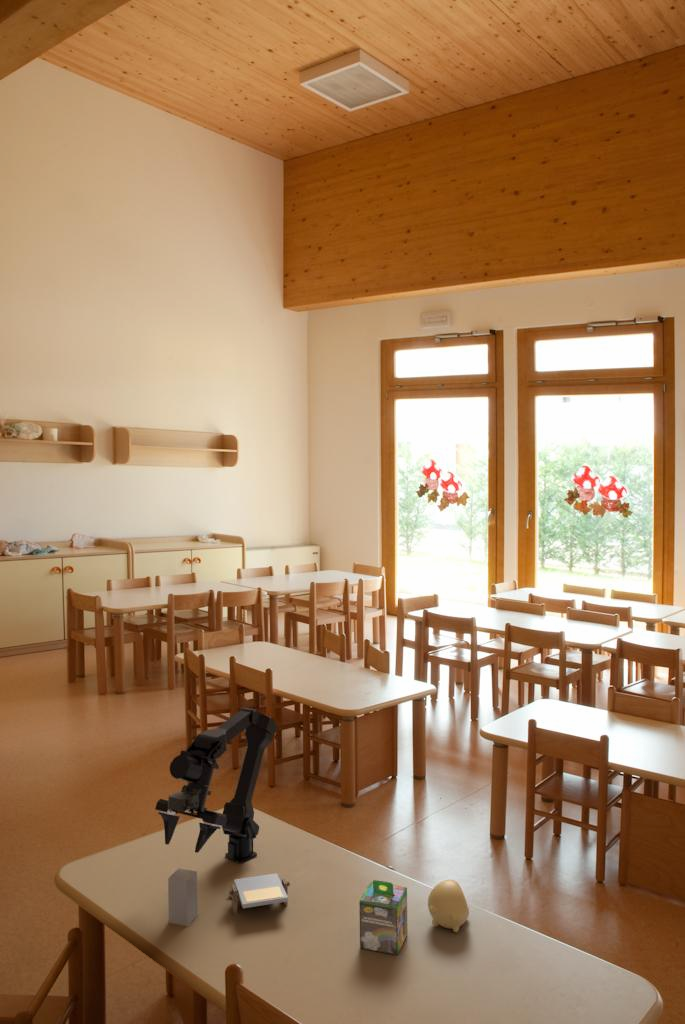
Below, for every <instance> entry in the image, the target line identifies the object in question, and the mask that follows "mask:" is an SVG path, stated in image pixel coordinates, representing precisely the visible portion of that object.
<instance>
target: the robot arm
mask: <svg viewBox="0 0 685 1024" xmlns="http://www.w3.org/2000/svg"><path fill="white" fill-rule="evenodd" d="M277 730H278V724H277V722H276V719H275V718H274V717H272V716H271V717H270V716H267V715H265V714H264V713H261V712H260V711H258V710H257V709H256V708H250V707H240V708H238V711H237V713H234V715H232V716H231V717H230V718H228V719H227V720H226V721H224V722H223V723H222V724H220V725H219V726H217V727H216V728H214V729H213V728H212V729H208V730H204V731H202V732H200V733H198V734H197V735H196V736H195V738H194V740H192V741H191V743H190V745H188V747H187V748H186V749H185V750H181V751H180V753H179V755H176V756H175V757H174V758H173V759H172V760H171V762H170V764H169V773H170V774H171V777H172V778H174V779H177V780H181V781H185V782H187V783H186V784H184V785H183V786H182V788H181V791H178V792H174V793H172V794H169V795H168V798H167V799H163V798H160V799H158V801H156V803H155V807H154V810H156V811H158V812H157V814H158V815H160V816H161V818H162V820H163V825H164V826H163V827H164V843H165V845H169V844H171V841H172V838H173V836H174V833H175V830H176V828H177V825H178V821H179V819H180V817H181V816H179V815H177V814H182V815H185V816H189V817H193V818H197V819H201V820H202V822H199V823H198V824H199V832H198V837H197V839H196V840H197V841H196V843H195V848H194V852H195V853H196V854H198V853H199V852H200V851H201V849H202V848H203V847H204V846H205V844H206V843H207V841H208V840H209V839H210V838H211V837H212V835H213V834H214V833H215V832H216V831H217V830H220V829H222V832H223V834H224V835H228V842H227V852H226V853H224V854H225V857H227V858H228V859H230V860H233V861H234V862H237V863H239V864H241V863H243V862H245V861H248V860H250V859H252V858H254V857H257V856H258V853H257V852H255V851H254V839H257V836H259V830H260V825H258V823H257V822H256V821H255V820H254V818H255V809H254V808H253V807H254V806H253V803H252V800H253V797H254V792H255V788H256V784H257V782H258V781H257V780H258V778H259V777H258V776H259V773H260V769H261V765H262V761H263V757H264V752H265V749H266V748H267V747H269V745H270V744H271V743H272V742H273V740H274V737H275V734H276V732H277ZM243 732H244V737H245V740H246V745H247V746H246V750H245V754H244V758H243V760H242V761H243V762H242V765H241V770H240V774H239V777H238V781H237V784H236V789H235V792H234V796H233V798H232V799H231V800H230V801H229V802H228V801H226V802H225V803H224V806H223V811H222V813H221V812H217V811H213V810H207V809H208V808H207V807H205V805H206V802H207V797H208V796H211V794H212V791H210V786H211V784H212V783H211V782H212V779H213V775H214V771H215V770H219V768H220V766H219V765H218V763H217V760H218V759H220V758H221V756H222V755H223V754H225V752H226V751H227V748H228V745H229V743H230V742H231V741H232V740H234V739H235V738H236V737H237V736H239V735H240V734H241V733H243Z"/></svg>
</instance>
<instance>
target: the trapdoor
mask: <svg viewBox="0 0 685 1024" xmlns="http://www.w3.org/2000/svg"><path fill="white" fill-rule="evenodd" d="M233 881H234V882H233V885H235V886H236V889H237V893H238V896H239V897H238V898H239V899H238V900H239V901H240V903H241V907H242V909H246V908H247V909H248V908H254V907H260V906H265V905H272V904H280V903H283V902H287V901H289V897H288V896H287V894H286V892H285V890H284V887H283V885H282V880H281V879H280V876H279V875H278V873H276V872H275V873H271V874H270V873H268V874H263V875H255V876H249V877H244V878H243V877H242V878H236V879H234V880H233Z"/></svg>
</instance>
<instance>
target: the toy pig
mask: <svg viewBox="0 0 685 1024" xmlns="http://www.w3.org/2000/svg"><path fill="white" fill-rule="evenodd" d="M427 906H428V907H427V908H428V912H429V915H430V916H431V918H432V922H431V925H432V926H433V927H438V926H441V927H442V928H445V929H452V931H453V932H454V933H457V932H459V930H460V927H461V926H463V924H464V923H465V922H466V921H467V920H468V918H469V916H470V909H469V906H468V903H467V899H466V897H465V894H464V892H463V889H462V887H461V886H460V884H459V882H458V881H456V880H455V879H446V880H443V881H440V882H439V883H438V884H436V885H435V886H434V887H433V888H432V889H431V891H430V893H429V895H428V899H427Z"/></svg>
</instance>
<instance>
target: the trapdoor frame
mask: <svg viewBox="0 0 685 1024" xmlns="http://www.w3.org/2000/svg"><path fill="white" fill-rule="evenodd" d="M281 883H282V885H283V887H284V890H285V892H286V894H287V896H288V891H289V890H288V887H290V886H291V884H290V881H287V880H286V877H281ZM238 898H239V896H238V893H237V889H236V886H235V884H232V885H231V890H229V891H228V899H231V908H232V912H233V914H237V913H238ZM288 901H289V900H288ZM288 901H287V902H282V903H283V905H284V906H287V904H288V905H289V903H288Z"/></svg>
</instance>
